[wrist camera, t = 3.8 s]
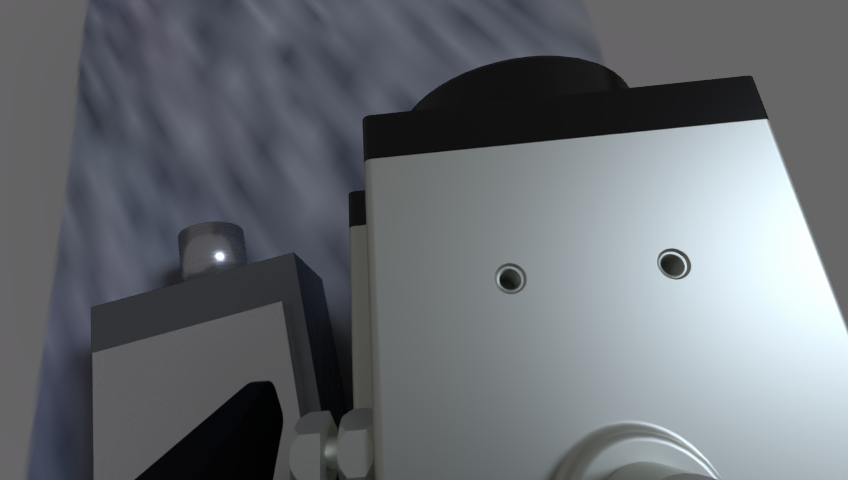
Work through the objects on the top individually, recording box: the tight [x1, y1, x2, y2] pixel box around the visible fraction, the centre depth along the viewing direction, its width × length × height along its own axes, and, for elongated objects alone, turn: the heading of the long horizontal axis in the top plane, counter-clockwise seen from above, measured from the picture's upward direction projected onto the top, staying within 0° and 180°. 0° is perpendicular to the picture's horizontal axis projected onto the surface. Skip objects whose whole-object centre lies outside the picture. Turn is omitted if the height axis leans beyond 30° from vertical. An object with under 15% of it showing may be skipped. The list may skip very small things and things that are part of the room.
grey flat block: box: [91, 222, 348, 480], centre depth 13 cm, size 15×6×4 cm, turn 15°
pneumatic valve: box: [289, 56, 848, 480], centre depth 9 cm, size 6×12×12 cm, turn 4°
